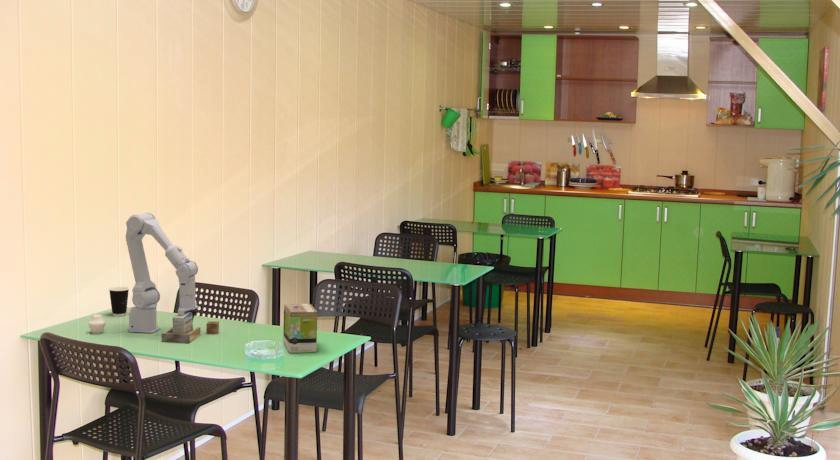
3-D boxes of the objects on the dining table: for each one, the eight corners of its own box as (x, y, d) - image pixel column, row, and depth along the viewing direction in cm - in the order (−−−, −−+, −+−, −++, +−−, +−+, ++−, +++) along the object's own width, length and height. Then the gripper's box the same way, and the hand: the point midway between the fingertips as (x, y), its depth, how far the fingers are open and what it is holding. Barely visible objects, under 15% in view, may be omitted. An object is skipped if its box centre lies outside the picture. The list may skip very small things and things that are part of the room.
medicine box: (185, 340, 327) (183, 318, 326) (173, 340, 328) (172, 317, 326) (193, 333, 335) (192, 311, 333) (182, 333, 336) (181, 310, 334)
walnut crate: (206, 334, 339) (206, 323, 338) (208, 331, 343) (208, 321, 342) (217, 334, 339) (217, 323, 339) (218, 331, 343) (218, 321, 343)
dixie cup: (128, 317, 363) (128, 290, 362) (107, 317, 362) (107, 290, 360) (130, 312, 371) (130, 286, 370) (110, 313, 369) (109, 286, 368)
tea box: (317, 352, 317) (318, 310, 315) (288, 353, 314) (289, 311, 312) (310, 342, 331) (310, 302, 329) (282, 343, 328) (283, 303, 326)
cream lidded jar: (84, 333, 335) (84, 314, 334) (97, 330, 340) (97, 311, 339) (96, 335, 332) (96, 316, 331) (109, 332, 337) (109, 313, 337)
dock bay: (161, 341, 325) (161, 333, 325) (174, 334, 337) (174, 326, 337) (188, 343, 324) (188, 334, 324) (200, 335, 336) (200, 327, 336)
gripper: (191, 298, 327) (191, 335, 329) (204, 291, 341) (205, 326, 343) (172, 297, 328) (172, 334, 329) (186, 290, 342) (186, 325, 344)
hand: (187, 330), depth 336 cm, fingers closed, pressing on medicine box
